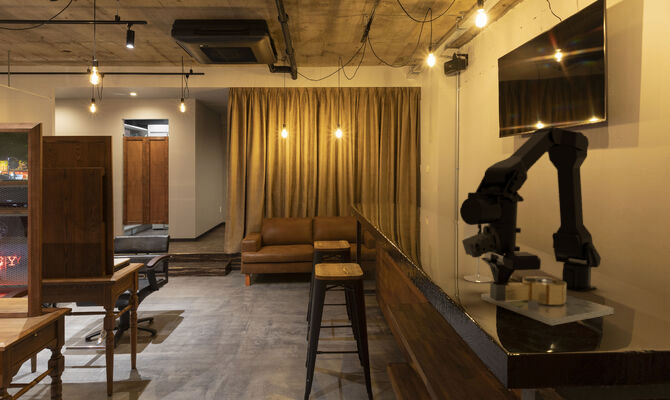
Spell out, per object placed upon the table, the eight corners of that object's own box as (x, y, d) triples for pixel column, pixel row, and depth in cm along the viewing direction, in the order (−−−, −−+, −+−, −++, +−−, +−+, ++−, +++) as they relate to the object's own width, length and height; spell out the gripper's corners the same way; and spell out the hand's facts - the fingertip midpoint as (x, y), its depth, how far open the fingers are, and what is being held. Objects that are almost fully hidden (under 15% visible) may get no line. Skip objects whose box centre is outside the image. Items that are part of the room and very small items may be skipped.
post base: (537, 291, 95) (537, 267, 94) (613, 313, 78) (614, 285, 78) (481, 299, 88) (481, 273, 87) (551, 325, 71) (552, 293, 71)
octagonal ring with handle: (484, 294, 86) (485, 273, 86) (550, 293, 87) (550, 273, 87) (502, 305, 78) (502, 282, 78) (573, 304, 79) (574, 282, 79)
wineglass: (491, 277, 109) (493, 208, 108) (493, 284, 102) (495, 209, 101) (463, 275, 111) (464, 207, 111) (462, 281, 104) (464, 208, 103)
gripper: (449, 217, 92) (447, 280, 93) (492, 229, 73) (489, 307, 75) (491, 217, 94) (489, 279, 95) (544, 228, 75) (540, 305, 76)
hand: (499, 291), depth 85 cm, fingers closed
